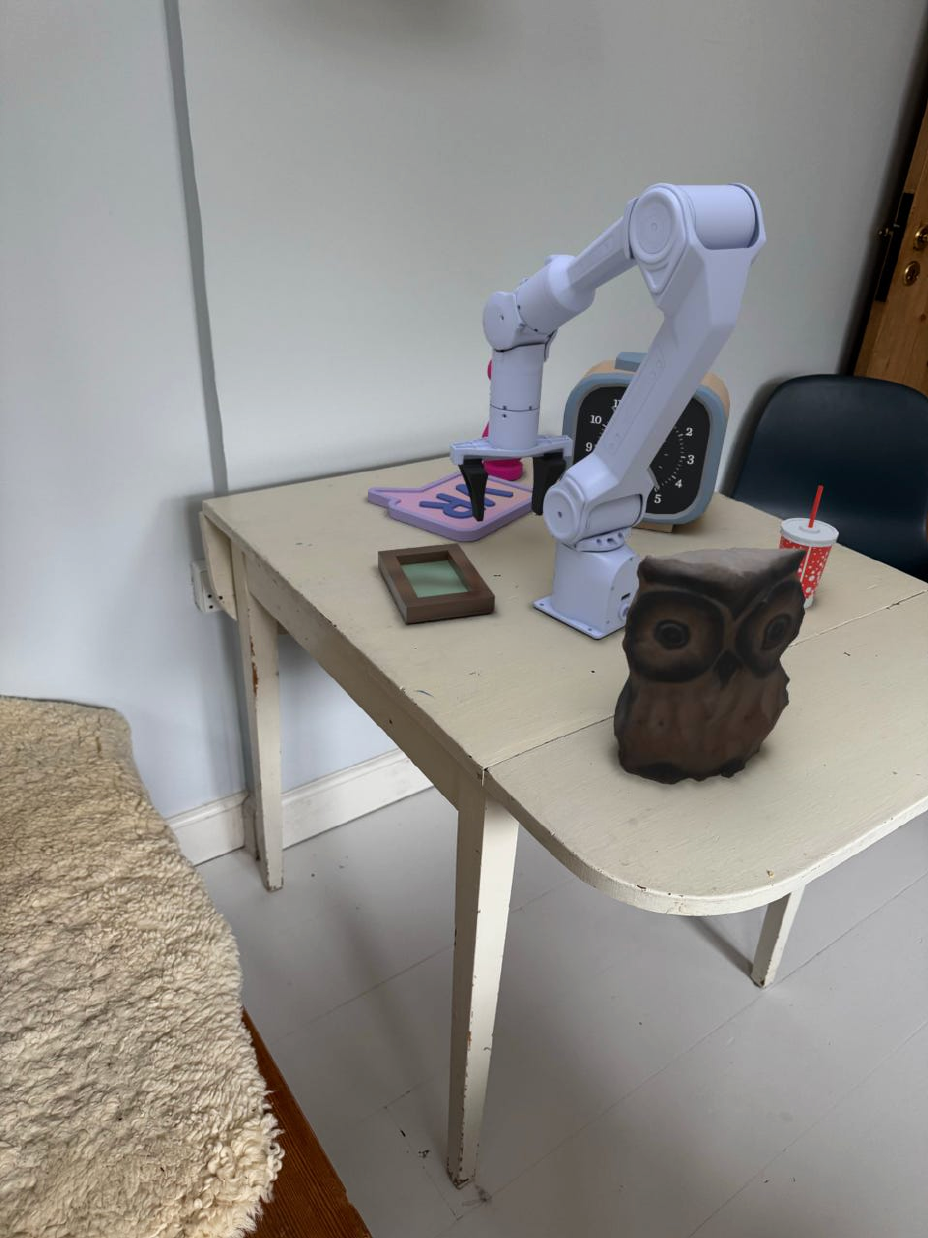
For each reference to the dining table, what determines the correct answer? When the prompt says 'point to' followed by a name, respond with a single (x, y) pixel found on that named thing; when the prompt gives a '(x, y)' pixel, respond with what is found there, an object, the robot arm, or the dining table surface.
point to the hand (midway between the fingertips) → (507, 515)
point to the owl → (706, 660)
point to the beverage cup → (809, 547)
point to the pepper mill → (502, 467)
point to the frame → (434, 582)
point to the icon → (455, 506)
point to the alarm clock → (683, 457)
